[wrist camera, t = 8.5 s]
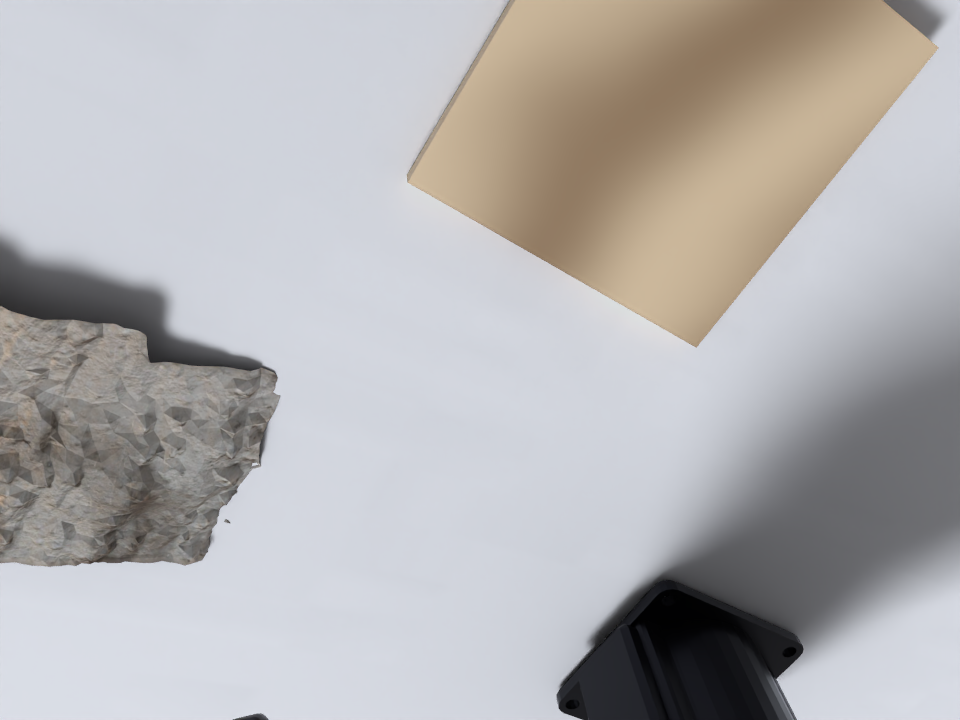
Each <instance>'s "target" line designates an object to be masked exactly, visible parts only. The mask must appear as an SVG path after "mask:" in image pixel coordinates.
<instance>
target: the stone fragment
mask: <svg viewBox="0 0 960 720" xmlns="http://www.w3.org/2000/svg"><path fill="white" fill-rule="evenodd" d="M277 378H278V377H277V376H276V374H275V373H274V372H271V371H269V370H266V369H264V368H262V367H261V368H259V369H256V370H252V371H248V370H241V369H235V368H230V367H219V366H190V365H185V364H179V363H173V362H158V363H150V361H149V358H148V351H147V337H146V335H145V334H144V333H142V332H140V331H138V330H133V329H127V328H123V327H121V326H118V325H116V324H110V323H90V322H85V321H78V320H42V319H38V318H33V317H29V316H26V315H22V314H19V313H16V312H12V311H9V310H7V309H5V308H4V307H2V306H0V563H9V562H17V563H21V564H27V565H34V566H48V567H51V566H63V565H73V566H77V565H79V564H81V563H87V564H91V563H93V562H98V563H99V562H106V563H121V562H124V561H128V562H139V563H154V562H159V561H166V562H173V563H178V564H182V565H188V564H191V563H195V562H198V561H201V560H202V559H203V558H204V556H205V554H206V553H207V552H208V551H207V550H208V548H209V545H210V540H209V537H210V535H211V533H212V528H213V527H214V526H215V525H216V524H217V517H218V516H219V510H220V508H221V507H222V506H223V505H227V504H228V502H229V501H230V500H231V497H232V496H233V495H234V494H236V493H237V491H236V490H237V488H238V486H239V485H240V484H241V483H242V482H243V480H244V479H245V478H246V476H247V475H248V474H249V472H250V471H251V470H252V469H254V468H258V467H260V464H259V453H260V449H259V446H260V443H261V440H262V438H263V433H264V430H265V428H266V425H267V422H268V421H269V420H270V418H271V416H272V415H273V413H274V410H275V408H276V406H277V403H278V400H279V398H280V395H276V394H275V393H273V391H274V389H275V384H276V382H277ZM256 462H257V463H258V465H256V466H252V463H256ZM251 466H252V467H251ZM225 522H227V523H230V522H229V521H228V520H227V519H226V520H225Z"/></svg>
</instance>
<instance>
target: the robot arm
mask: <svg viewBox="0 0 960 720" xmlns="http://www.w3.org/2000/svg"><path fill="white" fill-rule="evenodd" d="M666 595H669V596H667V597H665V596H666ZM802 653H803V646H802V644H801V642H800V641H799V639H798V637H797V636H796V635H795V634H793V633H791V632H788V631H786V630H784V629H781V628H779V627H777V626H775V625H772V624H770V623H768V622H766V621H763V620H761V619H759V618H757V617H754V616H752V615H750V614H747V613H745V612H743V611H741V610H738V609H736V608H734V607H732V606H729V605H727V604H725V603H723V602H720V601H718V600H716V599H713V598H711V597H709V596H707V595H704V594H702V593H700V592H698V591H695V590H693V589H691V588H688V587H686V586H684V585H682V584H679V583H677V582H675V581H671V580H666V581H662V582H659V583H657V584H656V585H655V586H654V587H653V588H652V589H651V590H650V591H649V592H648V593H647V594H646V595H645V596H644V598H643V599H642V600H641V601H640V602H639V603H638V604H637V605H636V606H635V607H634V609H633V610H632V611H631V612H630V613H629V614H628V615H627V616H626V617H625V619H624V620H623V621H622V622H621V623H620V624H619V625H618V626H617V627H616V628H615V630H614V631H613V632H612V633H611V634H610V635H609V636H608V637H607V638H606V639H605V641H604V642H603V643H602V644H601V645H600V646H599V647H598V648H597V649H596V650H595V652H594V653H593V654H592V655H591V656H590V657H589V658H588V659H587V660H586V662H585V663H584V664H583V665H582V666H581V667H580V668H579V669H578V670H577V671H576V673H575V674H574V675H573V676H572V677H571V678H570V679H569V680H568V681H567V682H566V684H565V685H564V686H563V687H562V688H561V689H560V690H559V692H558V693H557V702H558V707H559V709H560V711H562V712H563V713H565V714H568V715H571V716H574V717H577V718H580V719H582V720H797V719H796V717H795V715H794V713H793V711H792V709H791V707H790V705H789V703H788V701H787V699H786V697H785V695H784V693H783V692H782V690H781V688H780V686H779V684H778V682H777V680H776V679H777V678H778V677H779V676H780V675H781V674H782V673H783V672H784V671H785V670H786V669H787V668H788V667H789V666H790V665H791V664H792V663H793V662H794V661H795V660H796V659H798V658H799V657H800V655H801V654H802ZM234 720H268V718H267V717H266V716H265V715H263V714H253V715H249V716H245V717H241V718H237V719H234Z"/></svg>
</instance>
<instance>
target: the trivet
mask: <svg viewBox="0 0 960 720" xmlns="http://www.w3.org/2000/svg"><path fill="white" fill-rule="evenodd" d="M937 49H938V47H937V46H936V45H935V44H934V43H932V42H931V41H930V40H929V39H928V38H927V37H925V36H924V35H923V34H922V33H921V32H919V31H918V30H917V29H916V28H915V27H914V26H912V25H911V24H910V23H909V22H908V21H906V20H905V19H904V18H903V17H902V16H900V15H899V14H898V13H897V12H896V11H895V10H893V9H892V8H891V7H890V6H889V5H887V4H886V3H885V2H884V1H883V0H510V1H509V3H508V4H507V6H506V8H505V9H504V11H503V13H502V15H501V16H500V18H499V20H498V21H497V23H496V25H495V26H494V28H493V30H492V32H491V33H490V35H489V37H488V38H487V40H486V42H485V43H484V45H483V47H482V49H481V50H480V52H479V54H478V55H477V57H476V59H475V60H474V62H473V64H472V66H471V67H470V69H469V71H468V72H467V74H466V76H465V77H464V79H463V81H462V82H461V84H460V86H459V88H458V89H457V91H456V93H455V94H454V96H453V98H452V99H451V101H450V103H449V105H448V106H447V108H446V110H445V111H444V113H443V115H442V116H441V118H440V120H439V122H438V123H437V125H436V127H435V128H434V130H433V132H432V133H431V135H430V137H429V139H428V140H427V142H426V144H425V145H424V147H423V149H422V150H421V152H420V154H419V156H418V157H417V159H416V161H415V162H414V164H413V166H412V167H411V169H410V171H409V173H408V174H407V181H408V183H410V184H411V185H413V186H415V187H417V188H418V189H420V190H422V191H424V192H425V193H427V194H429V195H431V196H432V197H434V198H436V199H438V200H439V201H441V202H443V203H445V204H446V205H448V206H450V207H452V208H453V209H455V210H457V211H459V212H460V213H462V214H464V215H465V216H467V217H469V218H471V219H472V220H474V221H476V222H478V223H479V224H481V225H483V226H485V227H486V228H488V229H490V230H492V231H493V232H495V233H497V234H499V235H500V236H502V237H504V238H506V239H507V240H509V241H511V242H513V243H514V244H516V245H518V246H520V247H521V248H523V249H525V250H527V251H528V252H530V253H532V254H534V255H535V256H537V257H539V258H541V259H542V260H544V261H546V262H548V263H549V264H551V265H553V266H555V267H556V268H558V269H560V270H562V271H563V272H565V273H567V274H569V275H570V276H572V277H574V278H576V279H577V280H579V281H581V282H583V283H584V284H586V285H588V286H590V287H591V288H593V289H595V290H597V291H598V292H600V293H602V294H604V295H605V296H607V297H609V298H611V299H612V300H614V301H616V302H618V303H619V304H621V305H623V306H625V307H626V308H628V309H630V310H632V311H633V312H635V313H637V314H639V315H640V316H642V317H644V318H646V319H647V320H649V321H651V322H653V323H654V324H656V325H658V326H660V327H661V328H663V329H665V330H667V331H668V332H670V333H672V334H674V335H675V336H677V337H679V338H680V339H682V340H684V341H686V342H687V343H689V344H691V345H693V346H694V347H697V346H698V345H699V344H700V342H701V341H702V340H703V339H704V337H705V336H706V335H707V334H708V332H709V331H710V330H711V329H712V327H713V326H714V325H715V324H716V323H717V321H718V320H719V319H720V318H721V316H722V315H723V314H724V313H725V311H726V310H727V309H728V308H729V306H730V305H731V304H732V303H733V302H734V300H735V299H736V298H737V297H738V295H739V294H740V293H741V292H742V290H743V289H744V288H745V287H746V285H747V284H748V283H749V282H750V281H751V279H752V278H753V277H754V276H755V274H756V273H757V272H758V271H759V269H760V268H761V267H762V266H763V264H764V263H765V262H766V261H767V259H768V258H769V257H770V256H771V255H772V253H773V252H774V251H775V250H776V248H777V247H778V246H779V245H780V243H781V242H782V241H783V240H784V238H785V237H786V236H787V235H788V234H789V232H790V231H791V230H792V229H793V227H794V226H795V225H796V224H797V222H798V221H799V220H800V219H801V217H802V216H803V215H804V214H805V213H806V211H807V210H808V209H809V208H810V206H811V205H812V204H813V203H814V201H815V200H816V199H817V198H818V196H819V195H820V194H821V193H822V192H823V190H824V189H825V188H826V187H827V185H828V184H829V183H830V182H831V180H832V179H833V178H834V177H835V175H836V174H837V173H838V172H839V170H840V169H841V168H842V167H843V166H844V164H845V163H846V162H847V161H848V159H849V158H850V157H851V156H852V154H853V153H854V152H855V151H856V149H857V148H858V147H859V146H860V145H861V143H862V142H863V141H864V140H865V138H866V137H867V136H868V135H869V133H870V132H871V131H872V130H873V128H874V127H875V126H876V125H877V124H878V122H879V121H880V120H881V119H882V117H883V116H884V115H885V114H886V112H887V111H888V110H889V109H890V107H891V106H892V105H893V104H894V103H895V101H896V100H897V99H898V98H899V96H900V95H901V94H902V93H903V91H904V90H905V89H906V88H907V86H908V85H909V84H910V83H911V81H912V80H913V79H914V78H915V77H916V75H917V74H918V73H919V72H920V70H921V69H922V68H923V67H924V65H925V64H926V63H927V62H928V60H929V59H930V58H931V57H932V56H933V54H934V53H935V52H936V51H937Z"/></svg>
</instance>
